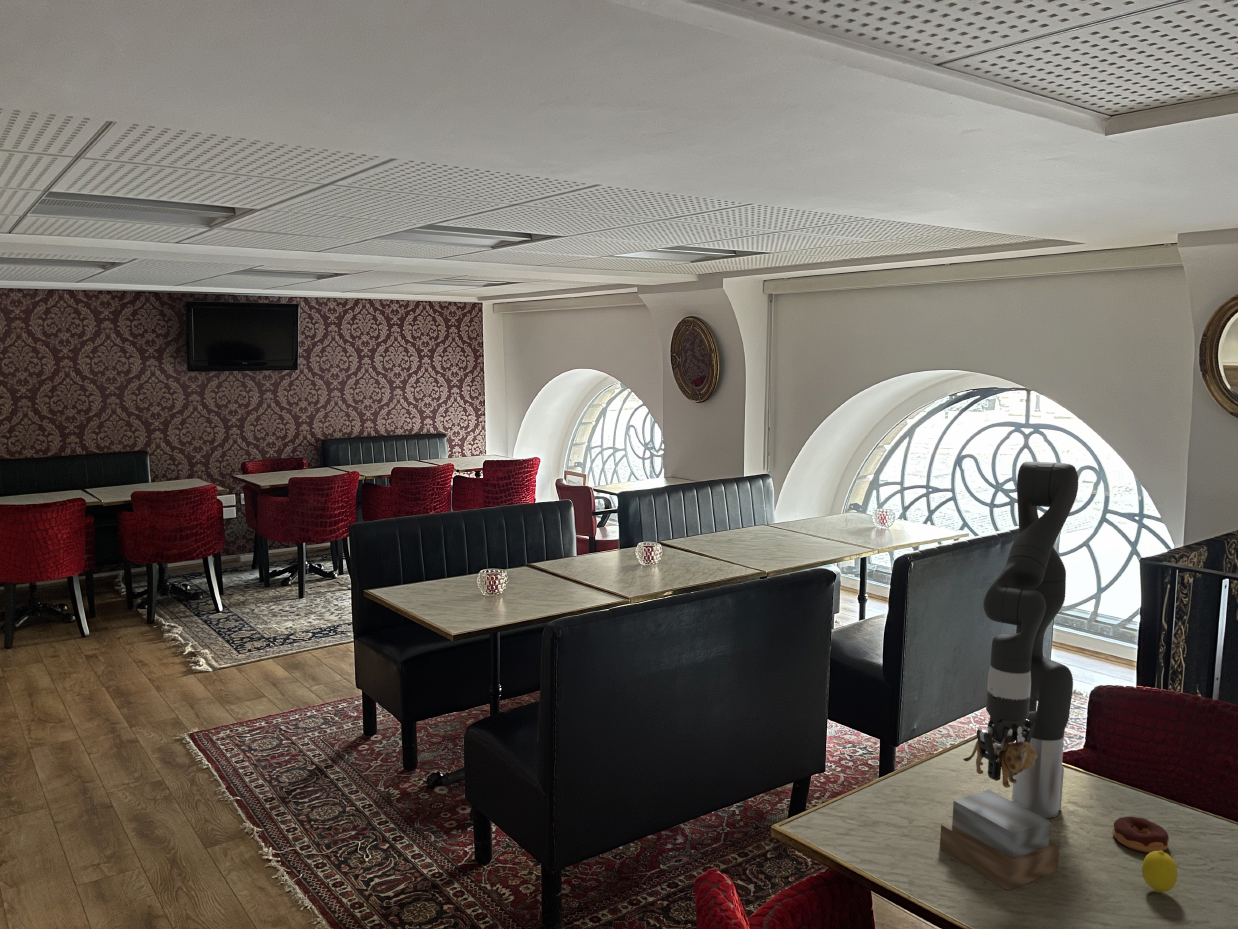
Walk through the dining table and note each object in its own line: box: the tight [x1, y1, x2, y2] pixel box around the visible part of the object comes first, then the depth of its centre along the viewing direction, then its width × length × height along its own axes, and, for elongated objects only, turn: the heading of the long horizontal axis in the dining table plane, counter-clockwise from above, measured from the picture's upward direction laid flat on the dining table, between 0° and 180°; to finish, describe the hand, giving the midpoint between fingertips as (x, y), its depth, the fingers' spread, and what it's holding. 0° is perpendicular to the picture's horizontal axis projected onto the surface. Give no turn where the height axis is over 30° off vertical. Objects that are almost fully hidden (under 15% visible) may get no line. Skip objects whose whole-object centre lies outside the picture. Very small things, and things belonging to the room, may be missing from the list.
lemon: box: [1141, 850, 1178, 894], centre depth 165 cm, size 6×6×8 cm
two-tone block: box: [939, 789, 1061, 891], centre depth 175 cm, size 14×16×10 cm
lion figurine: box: [962, 739, 1037, 789], centre depth 175 cm, size 15×5×9 cm, turn 35°
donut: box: [1111, 816, 1170, 854], centre depth 183 cm, size 10×10×4 cm
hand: (1002, 775), depth 174 cm, fingers closed on lion figurine, 4 cm apart
